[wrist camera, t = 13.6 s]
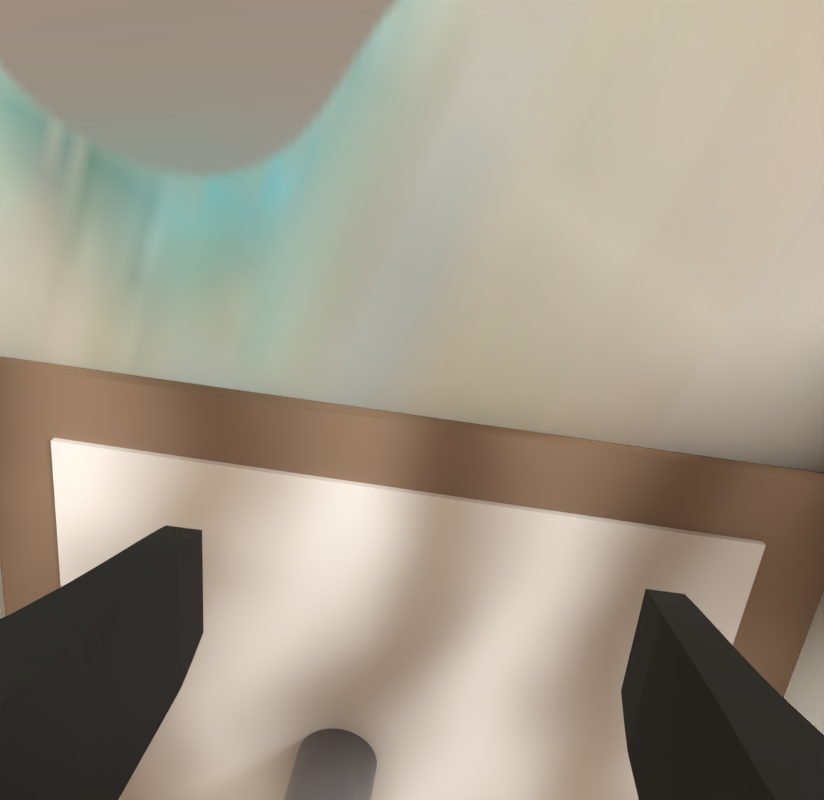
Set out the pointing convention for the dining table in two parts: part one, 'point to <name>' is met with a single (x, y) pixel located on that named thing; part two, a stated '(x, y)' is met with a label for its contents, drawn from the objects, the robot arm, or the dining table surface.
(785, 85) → the dining table surface
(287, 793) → the marker
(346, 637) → the drawing pad
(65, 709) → the robot arm
